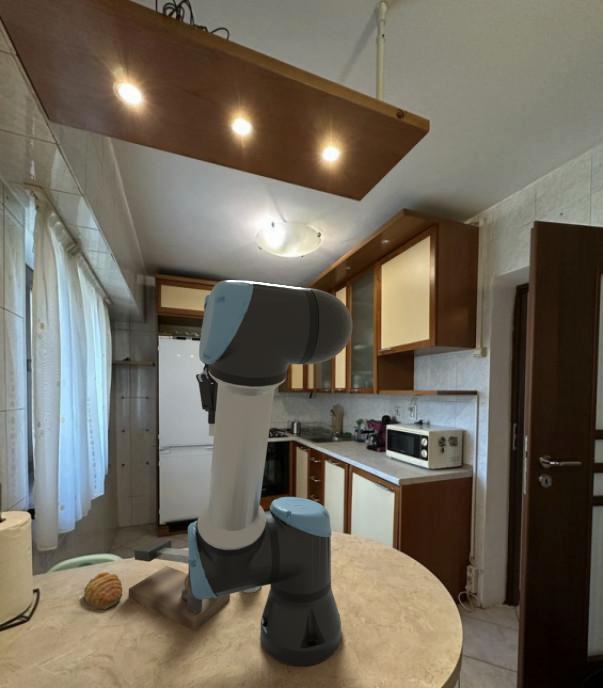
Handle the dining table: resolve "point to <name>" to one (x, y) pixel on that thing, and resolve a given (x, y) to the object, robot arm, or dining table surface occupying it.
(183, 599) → the nutcracker base
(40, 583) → the dining table surface
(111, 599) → the pastry
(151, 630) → the dining table surface
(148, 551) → the lever
